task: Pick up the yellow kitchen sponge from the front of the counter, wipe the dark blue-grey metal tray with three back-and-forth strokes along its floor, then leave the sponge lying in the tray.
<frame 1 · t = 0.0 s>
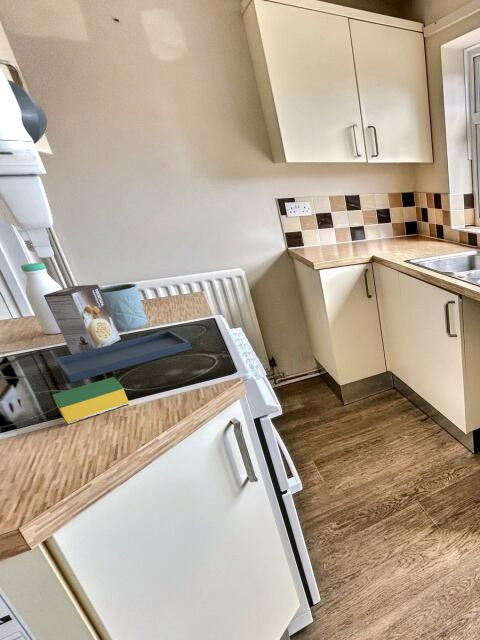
hand: (41, 253, 69), 31 cm above the worktop, tool pointing down, fingers open, 8 cm apart
tray: (127, 357, 107), on the worktop
sponge: (96, 409, 83), on the worktop
light blue textured cup: (129, 326, 129), on the worktop
coffee box: (97, 347, 113), on the worktop
milk bottle: (62, 330, 126), on the worktop
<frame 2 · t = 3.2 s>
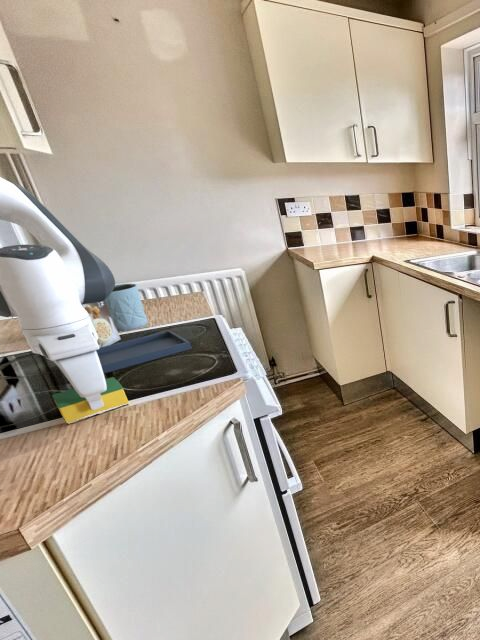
hand: (93, 401, 82), 2 cm above the worktop, tool pointing down, fingers closed on sponge, 6 cm apart
sponge: (96, 409, 83), on the worktop, touching gripper
everything else where it was.
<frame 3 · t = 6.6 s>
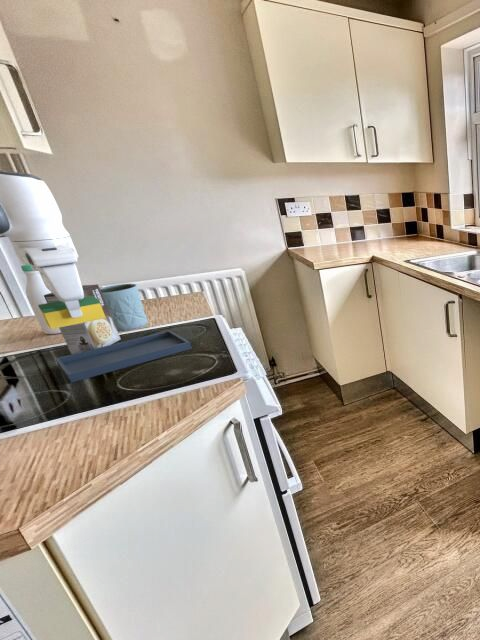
hand: (73, 313, 95), 14 cm above the worktop, tool pointing down, fingers closed on sponge, 6 cm apart
sponge: (76, 321, 96), point 12 cm above the worktop, touching gripper
everything else where it was.
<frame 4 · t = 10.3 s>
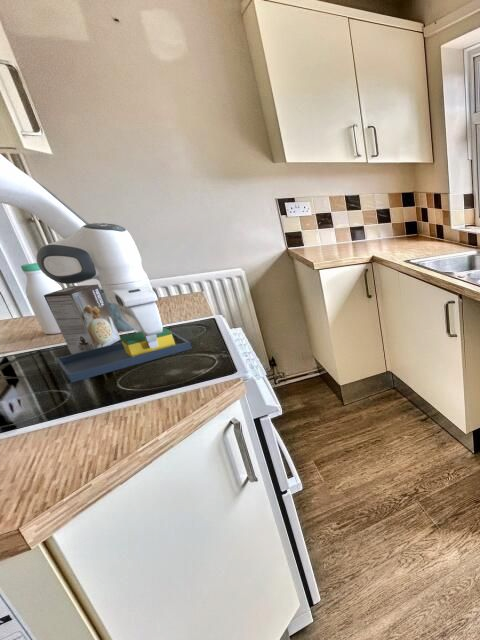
hand: (149, 343, 108), 2 cm above the worktop, tool pointing down, fingers closed on sponge, 6 cm apart
sponge: (151, 350, 109), point 1 cm above the worktop, touching gripper
everything else where it was.
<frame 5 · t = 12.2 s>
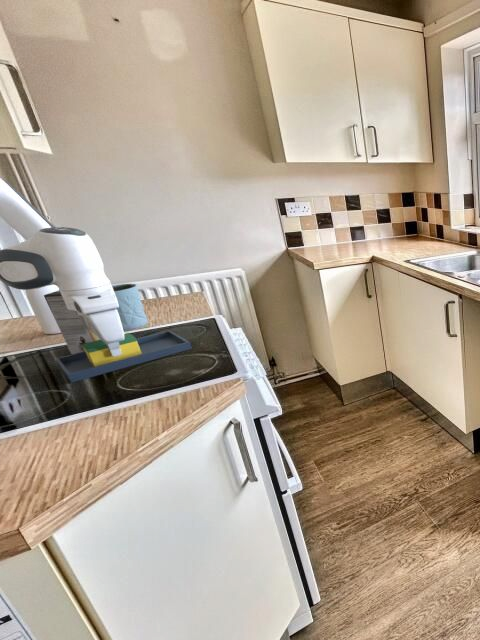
hand: (113, 351, 105), 2 cm above the worktop, tool pointing down, fingers closed on sponge, 6 cm apart
sponge: (116, 357, 105), point 1 cm above the worktop, touching gripper
everything else where it was.
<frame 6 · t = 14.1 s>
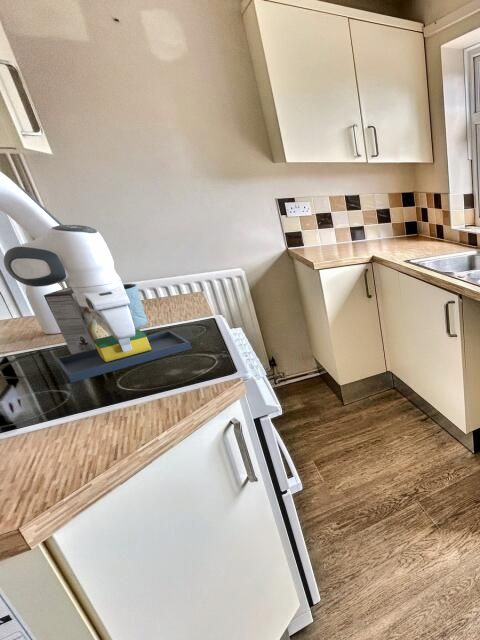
hand: (123, 347, 106), 2 cm above the worktop, tool pointing down, fingers closed on sponge, 6 cm apart
sponge: (126, 353, 107), point 1 cm above the worktop, touching gripper
everything else where it was.
when the fingers open (2 cm above the worktop, at t = 17.4 s): sponge stays where it is, resting on tray.
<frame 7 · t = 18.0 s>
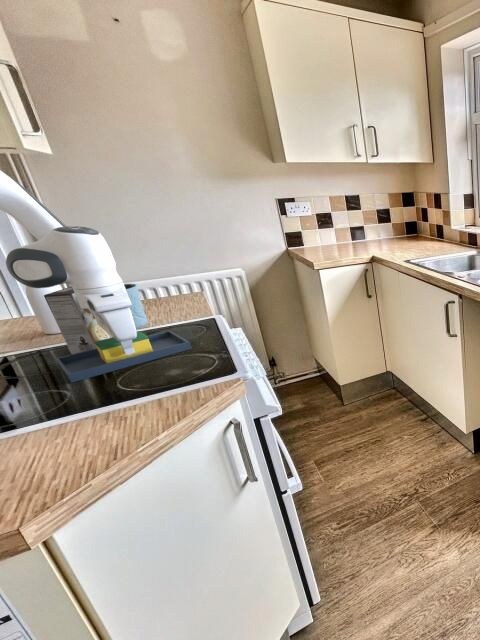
hand: (124, 349, 106), 2 cm above the worktop, tool pointing down, fingers open, 8 cm apart
sponge: (127, 354, 107), resting on tray
everything else where it was.
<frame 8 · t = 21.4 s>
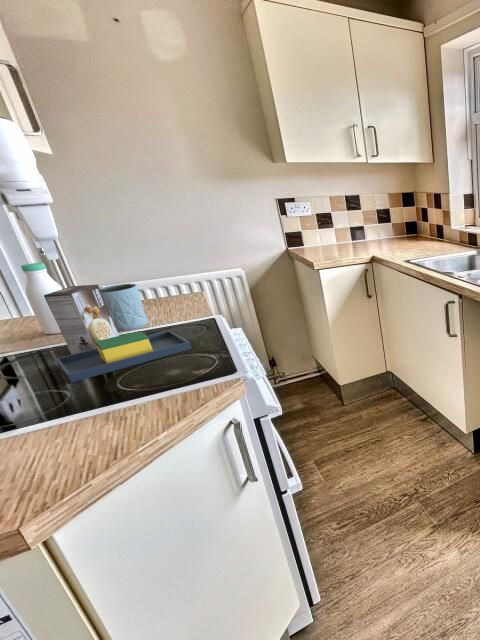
hand: (49, 257, 99), 25 cm above the worktop, tool pointing down, fingers open, 8 cm apart
nothing on the worktop moved.
at the end: sponge inside the target area in the tray (0.2 cm from its centre), point 0.5 cm above the tray's base; the gripper is holding nothing; sponge moved 30.3 cm from its start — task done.
